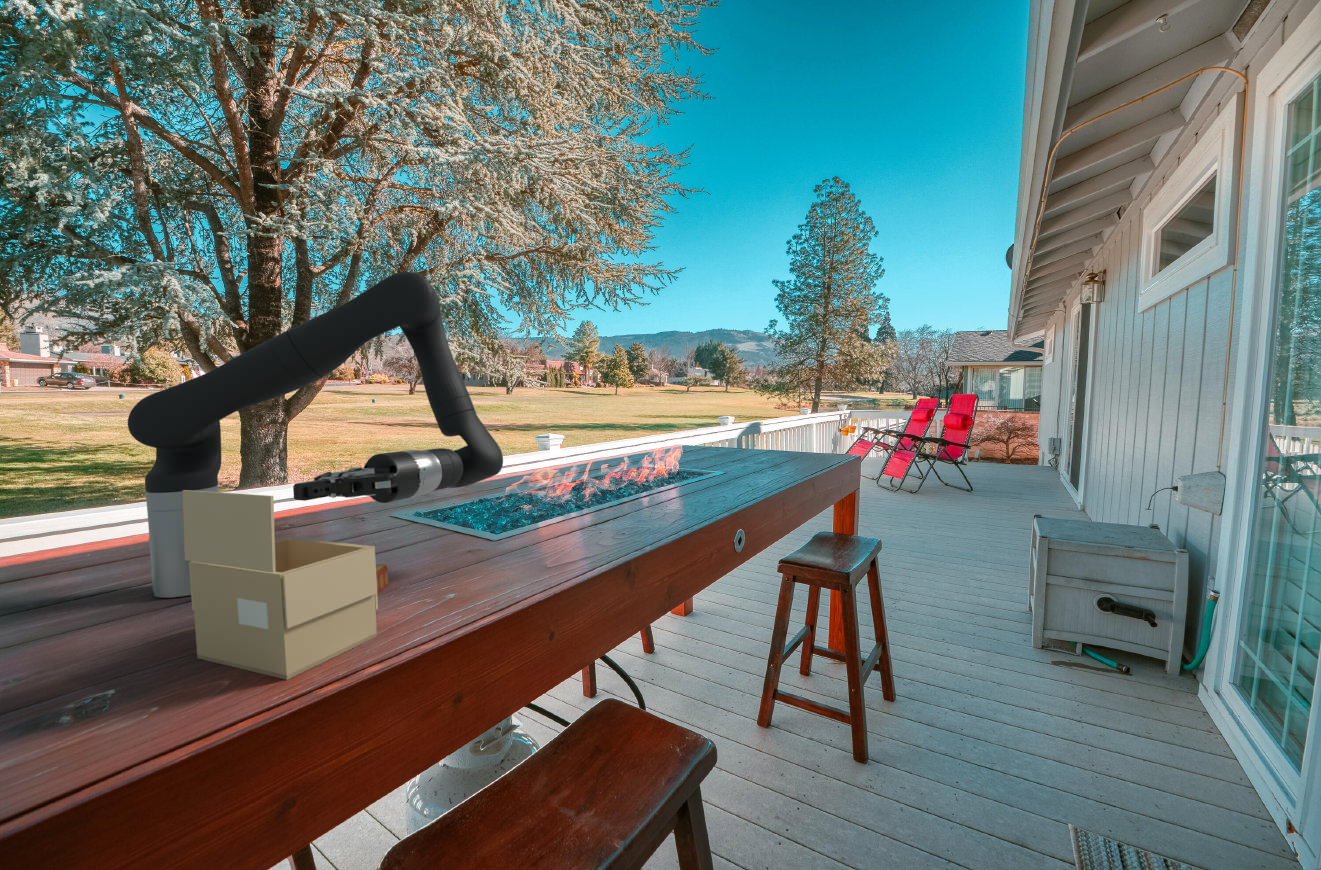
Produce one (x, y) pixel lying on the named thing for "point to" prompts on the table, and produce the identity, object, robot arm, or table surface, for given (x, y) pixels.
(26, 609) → the table surface
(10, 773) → the table surface
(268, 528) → the near flap
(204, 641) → the kraft box
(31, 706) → the table surface
